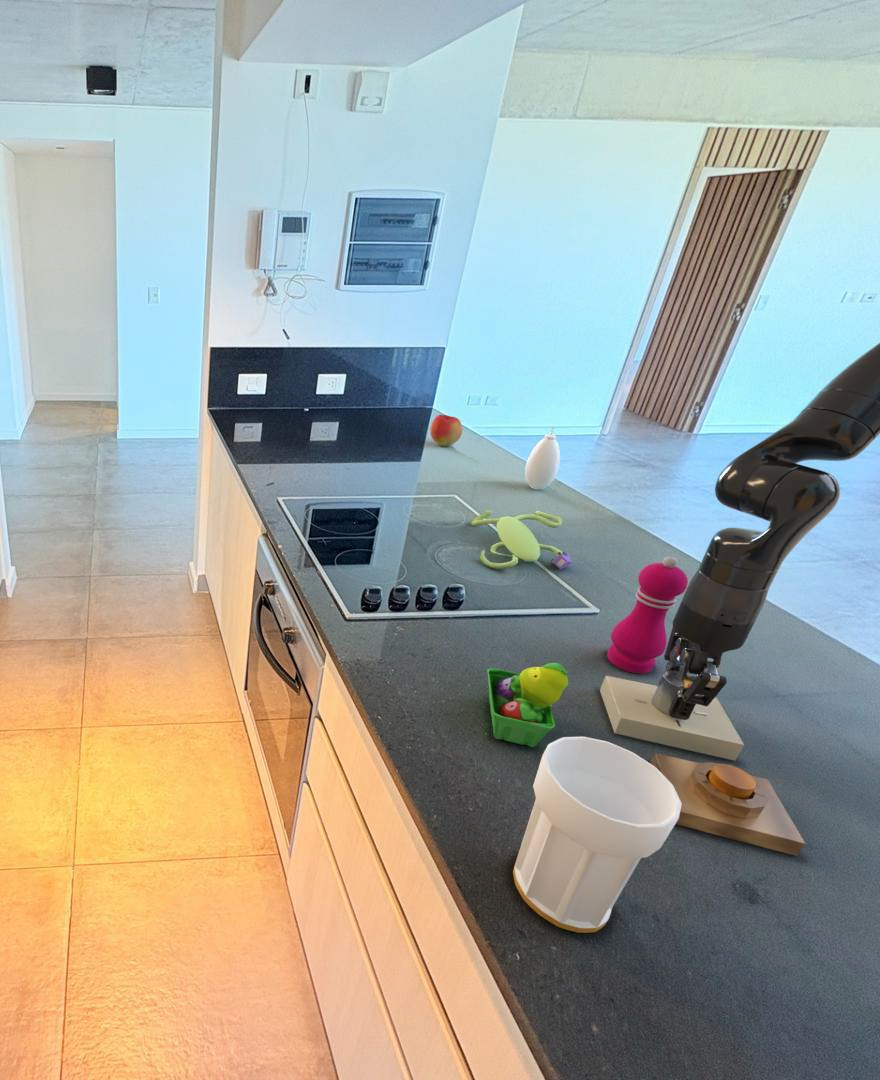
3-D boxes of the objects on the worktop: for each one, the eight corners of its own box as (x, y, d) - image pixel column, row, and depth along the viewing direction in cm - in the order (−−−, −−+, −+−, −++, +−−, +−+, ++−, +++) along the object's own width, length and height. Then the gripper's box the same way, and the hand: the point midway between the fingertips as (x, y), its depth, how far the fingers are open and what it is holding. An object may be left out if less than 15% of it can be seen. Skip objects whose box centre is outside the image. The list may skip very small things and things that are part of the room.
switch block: (760, 791, 79) (773, 768, 77) (797, 856, 71) (813, 833, 69) (648, 764, 83) (659, 742, 82) (671, 823, 75) (683, 800, 73)
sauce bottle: (551, 495, 167) (570, 431, 159) (519, 490, 171) (536, 427, 163) (552, 486, 173) (571, 424, 165) (521, 481, 177) (537, 420, 168)
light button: (742, 779, 76) (748, 768, 76) (755, 803, 73) (762, 793, 72) (703, 769, 78) (708, 759, 77) (714, 793, 75) (720, 783, 74)
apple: (428, 448, 204) (434, 418, 200) (427, 439, 212) (432, 411, 208) (460, 450, 201) (466, 420, 197) (457, 442, 210) (463, 413, 205)
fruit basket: (479, 692, 97) (496, 633, 92) (543, 705, 94) (564, 645, 89) (484, 742, 87) (503, 679, 82) (556, 759, 84) (580, 695, 79)
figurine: (552, 529, 148) (558, 508, 146) (579, 582, 126) (588, 558, 123) (468, 519, 154) (473, 499, 151) (480, 569, 131) (486, 546, 129)
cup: (523, 935, 63) (571, 819, 56) (488, 839, 73) (525, 730, 66) (643, 952, 62) (711, 835, 54) (591, 852, 72) (642, 741, 64)
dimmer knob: (647, 694, 91) (659, 665, 89) (682, 700, 90) (696, 672, 88) (657, 713, 88) (670, 684, 85) (694, 721, 86) (709, 691, 84)
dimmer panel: (709, 713, 92) (717, 696, 90) (735, 761, 84) (745, 743, 82) (599, 690, 97) (606, 674, 95) (614, 733, 88) (621, 716, 87)
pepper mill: (594, 656, 104) (633, 552, 95) (618, 644, 107) (659, 542, 98) (640, 681, 99) (686, 573, 90) (664, 667, 101) (712, 561, 92)
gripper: (670, 575, 88) (630, 669, 96) (701, 628, 76) (653, 731, 84) (735, 585, 85) (689, 681, 93) (778, 642, 74) (721, 747, 81)
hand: (672, 704), depth 89 cm, fingers closed on dimmer knob, 4 cm apart
